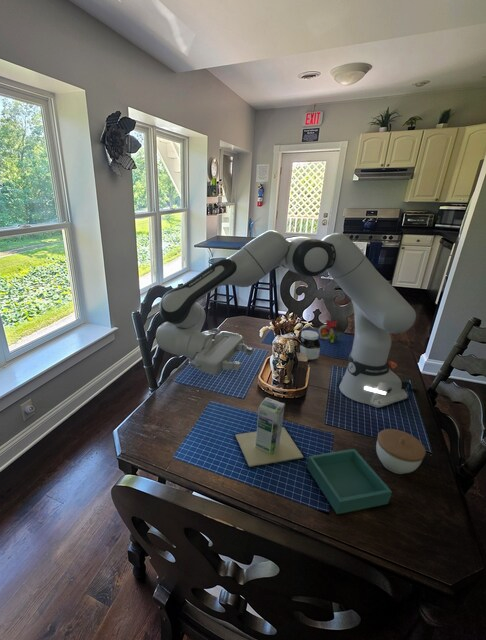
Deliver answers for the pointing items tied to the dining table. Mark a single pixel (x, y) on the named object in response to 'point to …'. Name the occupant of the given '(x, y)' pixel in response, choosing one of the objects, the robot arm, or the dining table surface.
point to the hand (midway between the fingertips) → (246, 358)
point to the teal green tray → (348, 481)
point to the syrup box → (269, 425)
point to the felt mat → (260, 457)
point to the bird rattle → (325, 331)
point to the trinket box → (399, 451)
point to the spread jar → (310, 344)
